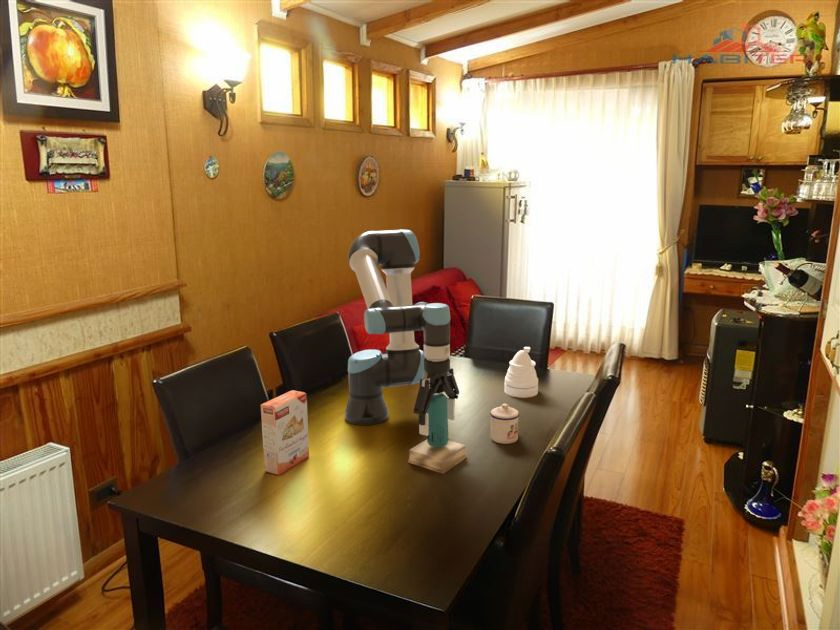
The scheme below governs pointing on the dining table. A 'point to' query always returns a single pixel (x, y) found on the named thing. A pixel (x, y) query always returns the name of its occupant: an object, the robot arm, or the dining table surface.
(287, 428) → the cracker box
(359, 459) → the dining table surface
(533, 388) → the honey pot
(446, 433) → the beverage bottle
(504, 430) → the teacup with lid
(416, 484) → the dining table surface
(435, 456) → the tan flat square block
